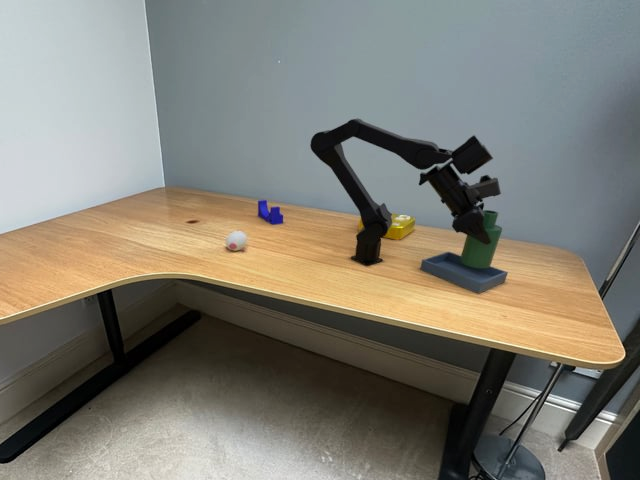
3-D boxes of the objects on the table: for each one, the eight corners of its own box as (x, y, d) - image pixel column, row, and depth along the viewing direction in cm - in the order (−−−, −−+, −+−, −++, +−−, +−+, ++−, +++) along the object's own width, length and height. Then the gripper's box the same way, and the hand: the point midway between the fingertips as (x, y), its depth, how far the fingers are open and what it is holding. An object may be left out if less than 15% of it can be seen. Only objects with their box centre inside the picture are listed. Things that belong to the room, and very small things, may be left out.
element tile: (374, 221, 138) (376, 208, 136) (415, 229, 130) (417, 216, 128) (356, 231, 128) (357, 218, 126) (399, 241, 119) (401, 226, 117)
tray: (478, 293, 88) (481, 283, 87) (419, 269, 100) (422, 259, 99) (504, 282, 93) (508, 272, 92) (446, 260, 105) (448, 251, 104)
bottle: (474, 269, 89) (490, 217, 83) (453, 259, 95) (467, 209, 89) (496, 266, 91) (513, 214, 85) (474, 256, 97) (489, 207, 91)
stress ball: (238, 254, 118) (228, 235, 118) (256, 245, 113) (246, 225, 113) (224, 261, 113) (213, 242, 112) (242, 251, 107) (231, 231, 107)
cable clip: (283, 223, 137) (283, 206, 134) (272, 224, 135) (272, 208, 132) (268, 214, 146) (268, 199, 144) (258, 216, 145) (258, 200, 142)
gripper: (484, 171, 76) (529, 231, 77) (483, 159, 91) (521, 209, 92) (434, 204, 83) (476, 259, 84) (440, 188, 98) (476, 234, 99)
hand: (488, 238), depth 89 cm, fingers closed on bottle, 7 cm apart
